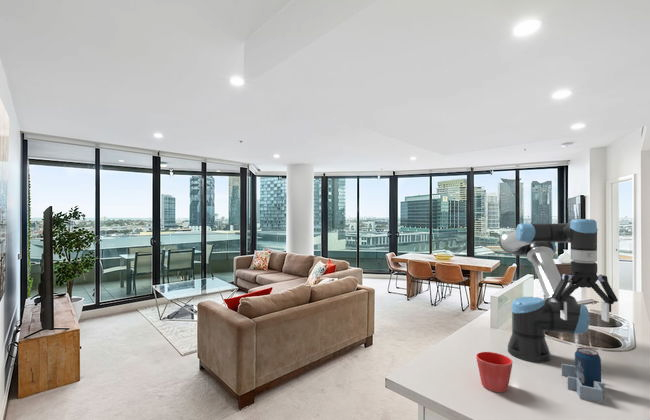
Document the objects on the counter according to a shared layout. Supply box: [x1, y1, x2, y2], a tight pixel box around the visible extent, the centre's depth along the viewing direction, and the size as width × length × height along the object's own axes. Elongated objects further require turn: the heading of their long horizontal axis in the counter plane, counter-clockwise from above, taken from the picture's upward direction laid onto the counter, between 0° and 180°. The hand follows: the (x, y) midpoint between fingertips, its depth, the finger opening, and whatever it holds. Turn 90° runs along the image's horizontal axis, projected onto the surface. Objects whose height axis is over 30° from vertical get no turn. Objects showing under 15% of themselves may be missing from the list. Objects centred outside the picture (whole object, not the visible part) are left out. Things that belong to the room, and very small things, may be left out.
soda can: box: [574, 347, 602, 388], centre depth 109 cm, size 7×7×12 cm
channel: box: [560, 363, 605, 404], centre depth 107 cm, size 10×16×4 cm, turn 152°
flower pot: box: [475, 351, 513, 393], centre depth 109 cm, size 11×11×10 cm
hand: (584, 320), depth 116 cm, fingers open, 13 cm apart
